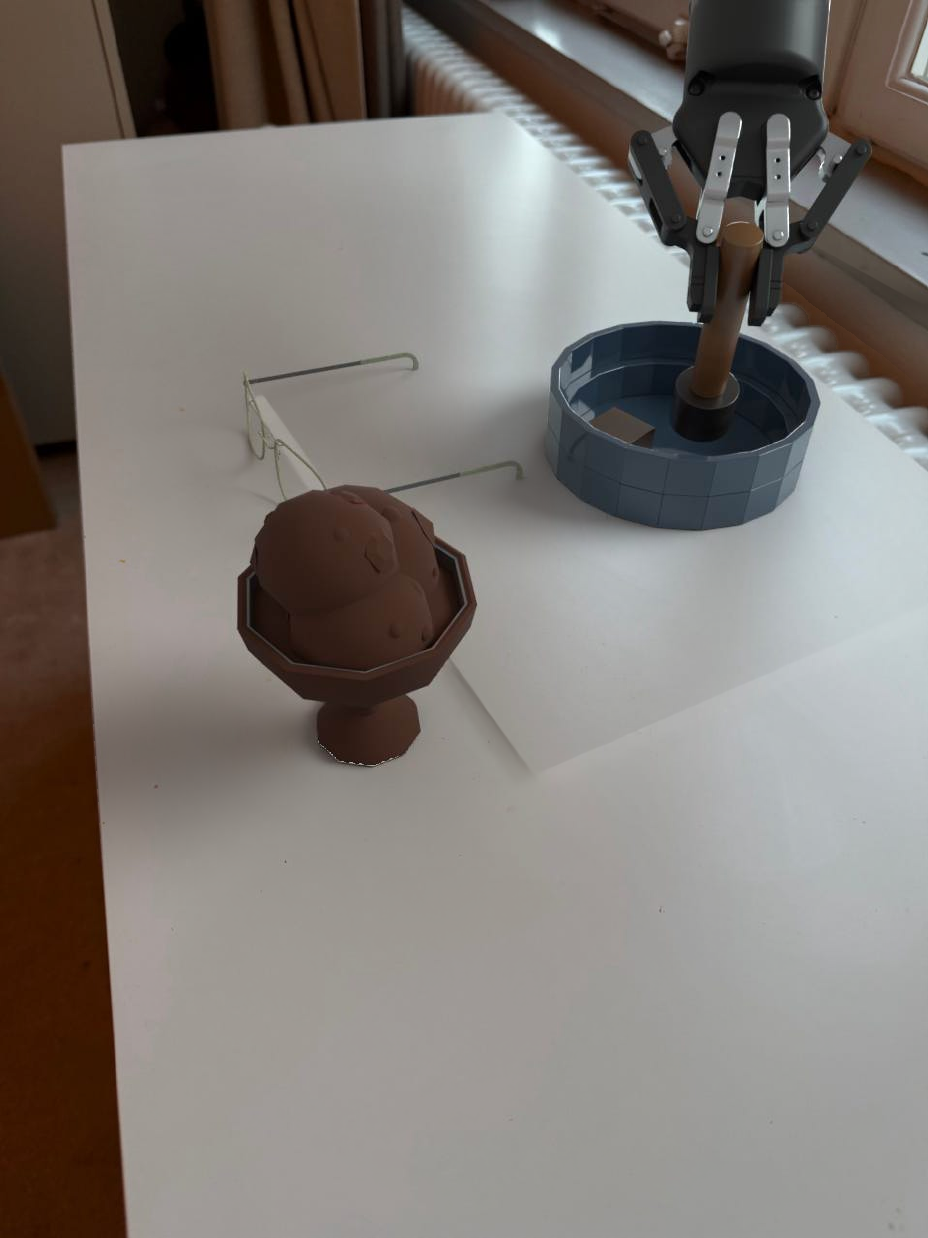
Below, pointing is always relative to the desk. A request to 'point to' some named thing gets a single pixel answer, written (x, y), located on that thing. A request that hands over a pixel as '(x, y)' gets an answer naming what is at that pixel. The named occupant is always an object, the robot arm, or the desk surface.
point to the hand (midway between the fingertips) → (731, 319)
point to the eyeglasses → (392, 490)
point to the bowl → (675, 467)
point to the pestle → (718, 343)
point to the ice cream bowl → (354, 612)
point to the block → (624, 428)
